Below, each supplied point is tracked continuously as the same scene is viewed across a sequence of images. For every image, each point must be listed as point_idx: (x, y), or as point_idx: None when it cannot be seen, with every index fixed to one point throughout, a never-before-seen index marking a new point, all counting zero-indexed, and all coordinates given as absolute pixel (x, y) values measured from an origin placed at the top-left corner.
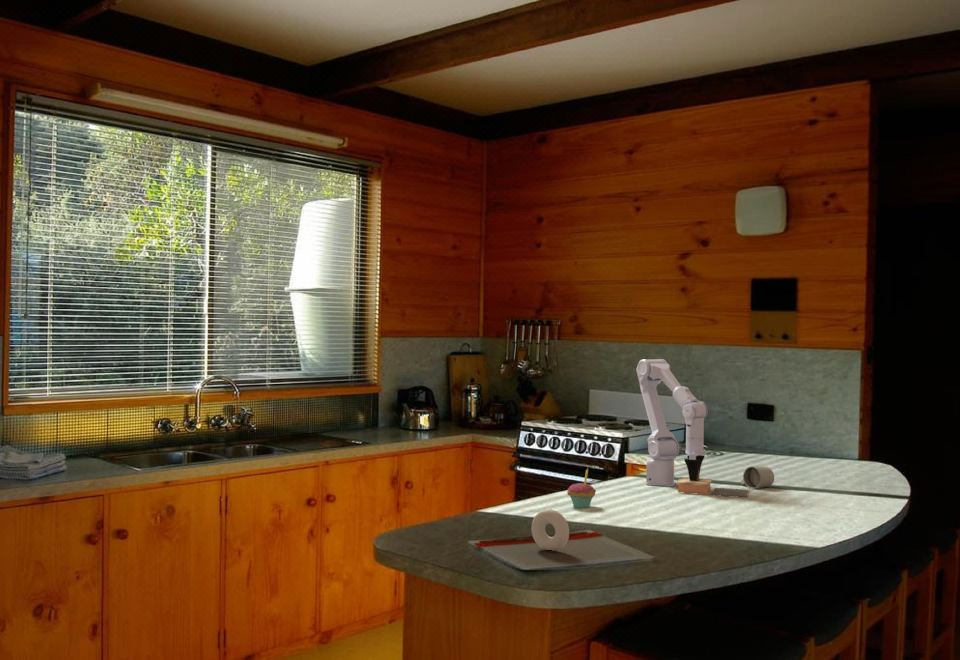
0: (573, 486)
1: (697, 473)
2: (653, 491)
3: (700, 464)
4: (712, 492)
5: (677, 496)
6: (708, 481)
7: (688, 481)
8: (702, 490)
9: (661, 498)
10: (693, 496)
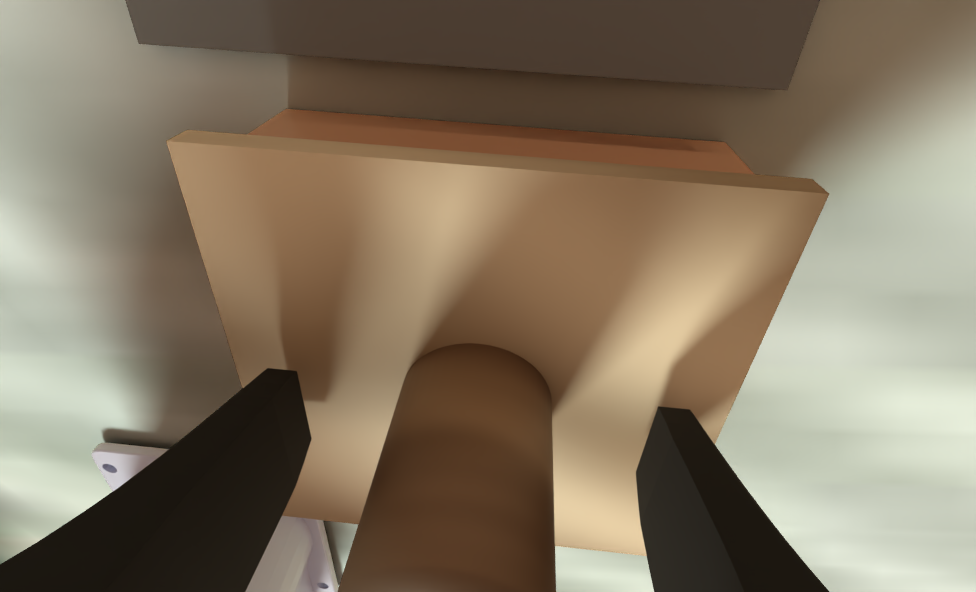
0: None
1: (767, 520)
2: (600, 568)
3: (132, 578)
4: (618, 75)
5: (851, 446)
6: (494, 204)
7: (591, 463)
8: None
9: (954, 543)
10: (857, 315)
